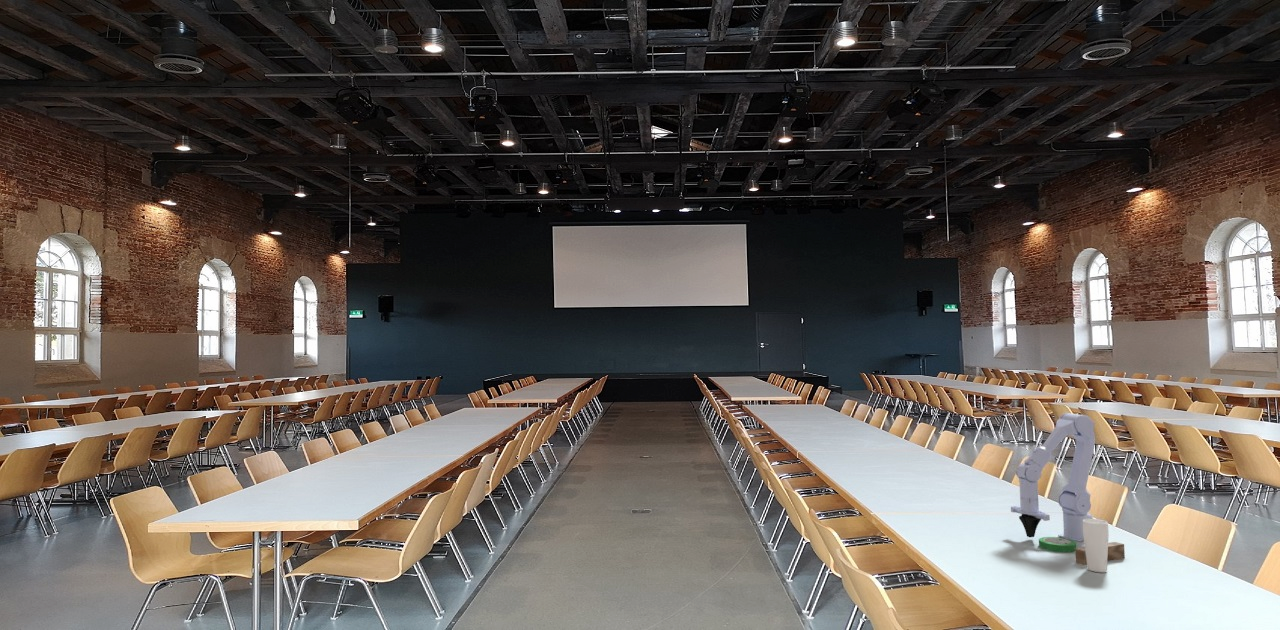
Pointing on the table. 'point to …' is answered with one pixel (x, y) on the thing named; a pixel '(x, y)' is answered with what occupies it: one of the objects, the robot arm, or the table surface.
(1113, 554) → the brown wooden bar
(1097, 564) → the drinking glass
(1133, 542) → the table surface
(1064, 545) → the tape roll
